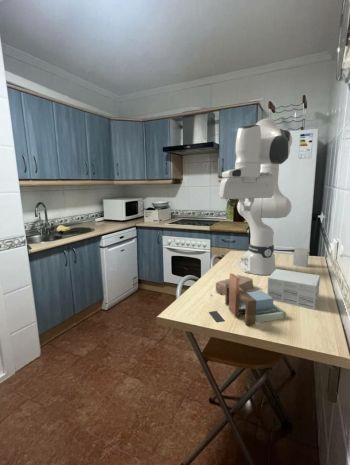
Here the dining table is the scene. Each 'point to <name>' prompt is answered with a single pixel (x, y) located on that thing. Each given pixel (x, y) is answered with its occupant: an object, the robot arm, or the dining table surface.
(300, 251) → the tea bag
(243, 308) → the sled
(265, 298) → the block
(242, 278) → the brick
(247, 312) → the tunnel
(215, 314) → the dark grey flat block
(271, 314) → the green hollow frame
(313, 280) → the supplement box
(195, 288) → the dining table surface
